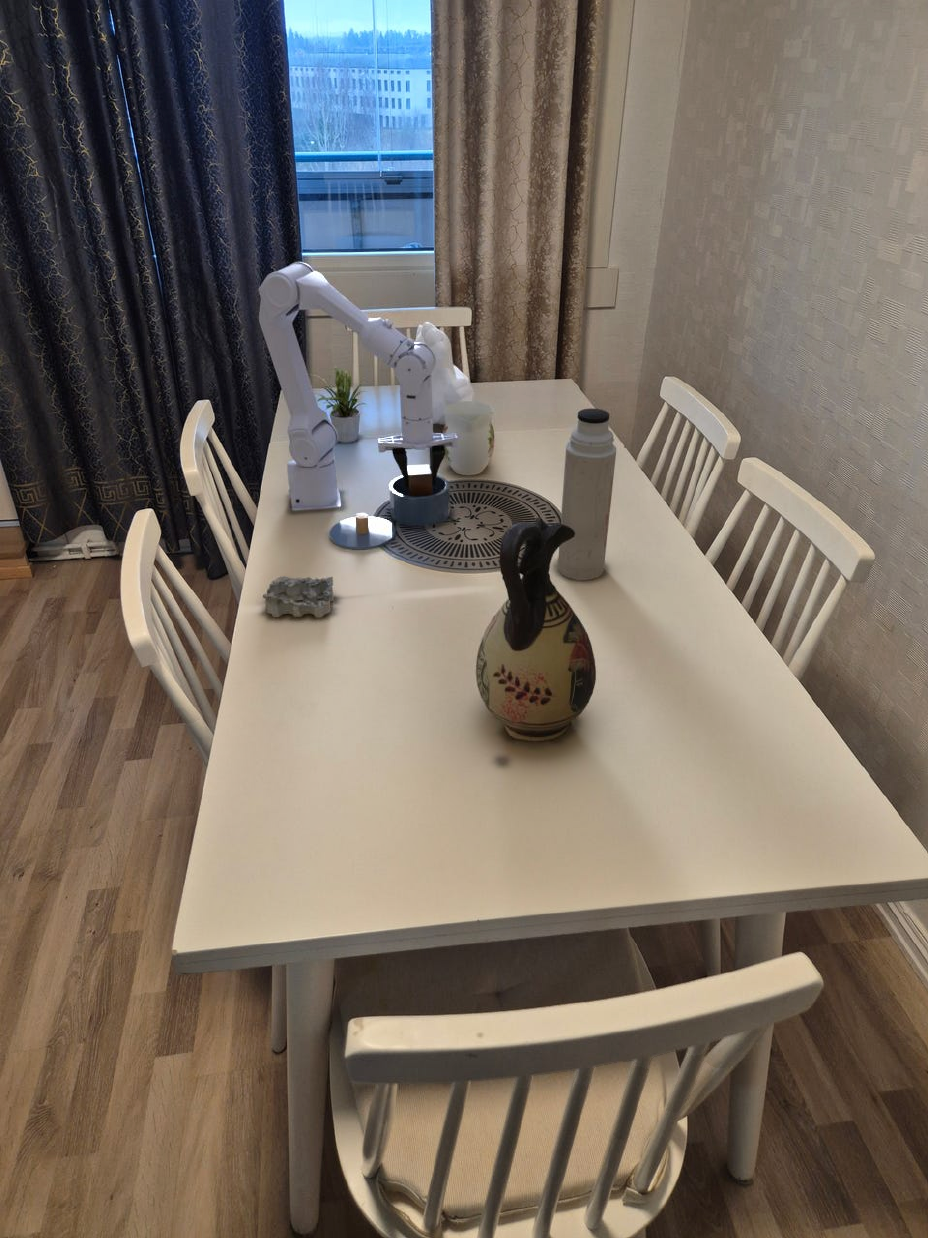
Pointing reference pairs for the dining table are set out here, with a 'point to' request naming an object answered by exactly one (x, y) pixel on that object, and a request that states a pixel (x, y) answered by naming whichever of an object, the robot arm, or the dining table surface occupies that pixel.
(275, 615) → the egg carton
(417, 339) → the decorative rooster
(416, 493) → the block
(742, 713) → the dining table surface
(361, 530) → the lid
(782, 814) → the dining table surface
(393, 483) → the canister
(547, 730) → the ceramic jug
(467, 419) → the pitcher
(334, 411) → the house plant
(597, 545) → the thermos bottle
